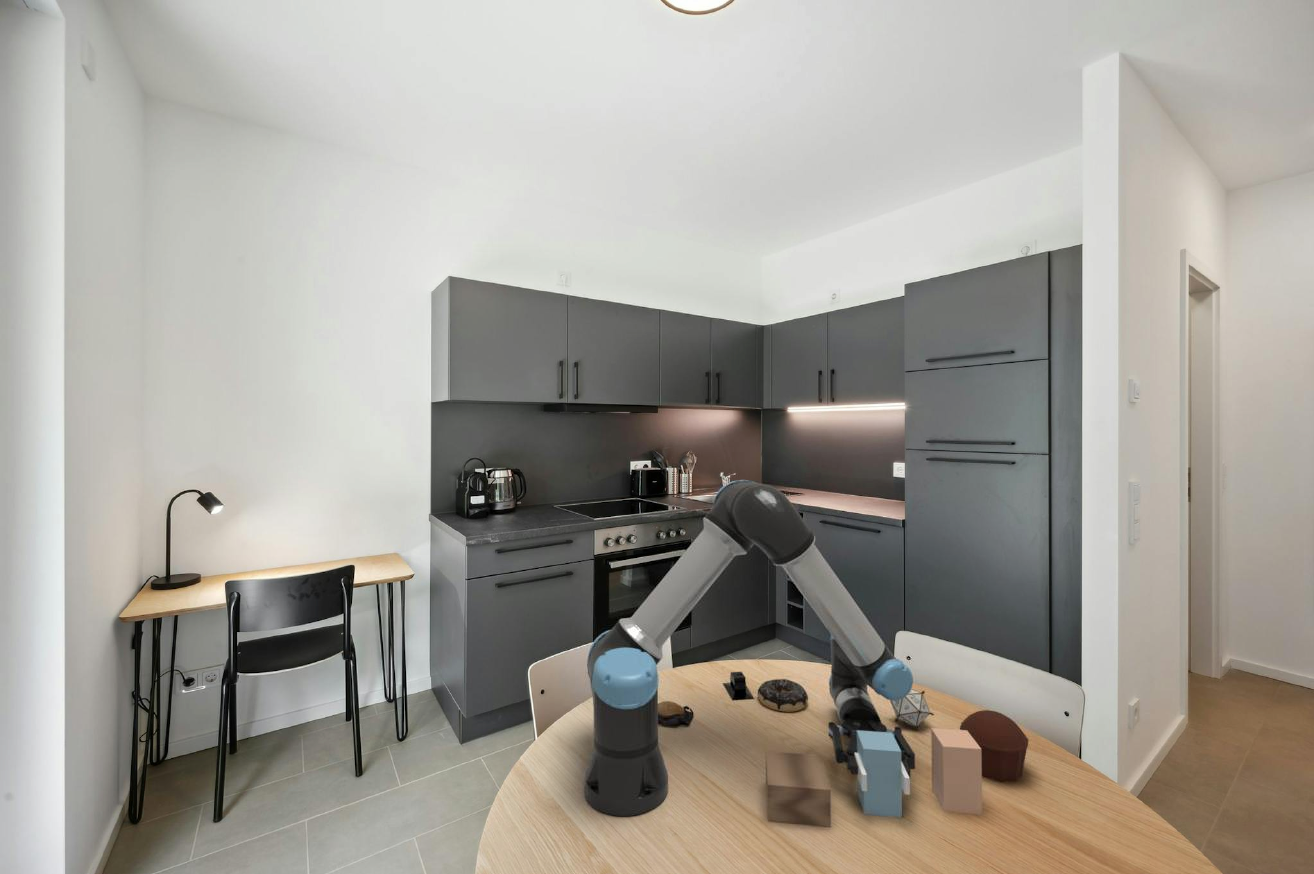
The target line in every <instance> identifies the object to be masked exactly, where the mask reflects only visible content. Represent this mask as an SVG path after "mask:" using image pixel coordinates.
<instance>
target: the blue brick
mask: <svg viewBox="0 0 1314 874" xmlns="http://www.w3.org/2000/svg"><path fill="white" fill-rule="evenodd" d="M857 753H859V755H860V758H861V761H862V764H863V766H864V768H865V771H866V774H867V791H862V789H861V786H860V783H859V780H858V777H857V776H856V779H857V780H856V785H857V786H856V792H857V796H858V798H859V801H860V802H859V803H860V804H861V805H860V806H861V808H862V812H863V814H864V815H868V816H881V817H892V818H903V793H902V792H903V789H902V787H901V750H900V748H899V746H898V744H897V742H896V740H895V738H894V736H893V734H892V733H888V732H874V731H859V730H857Z"/></svg>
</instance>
